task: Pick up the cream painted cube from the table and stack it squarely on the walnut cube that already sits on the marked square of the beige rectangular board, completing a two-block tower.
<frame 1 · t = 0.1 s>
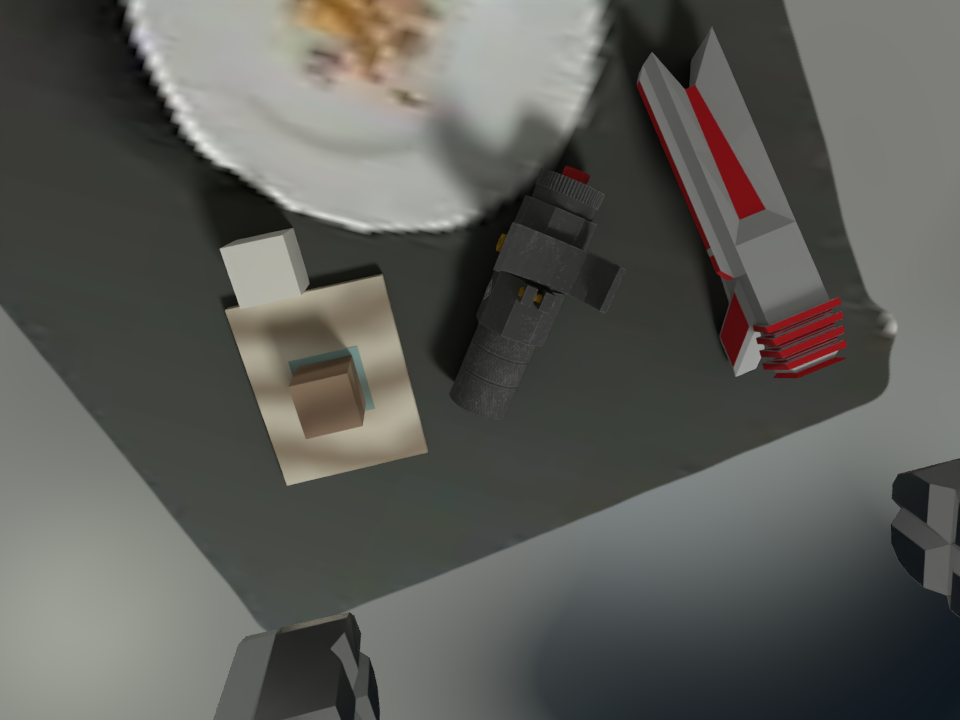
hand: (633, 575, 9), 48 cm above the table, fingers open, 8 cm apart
beige rectangular board: (333, 381, 57), on the table
toy gun: (700, 222, 57), on the table
cream block: (273, 262, 53), on the table
laser sight: (518, 285, 57), on the table
walnut block: (332, 385, 56), point 1 cm above the table, touching beige rectangular board
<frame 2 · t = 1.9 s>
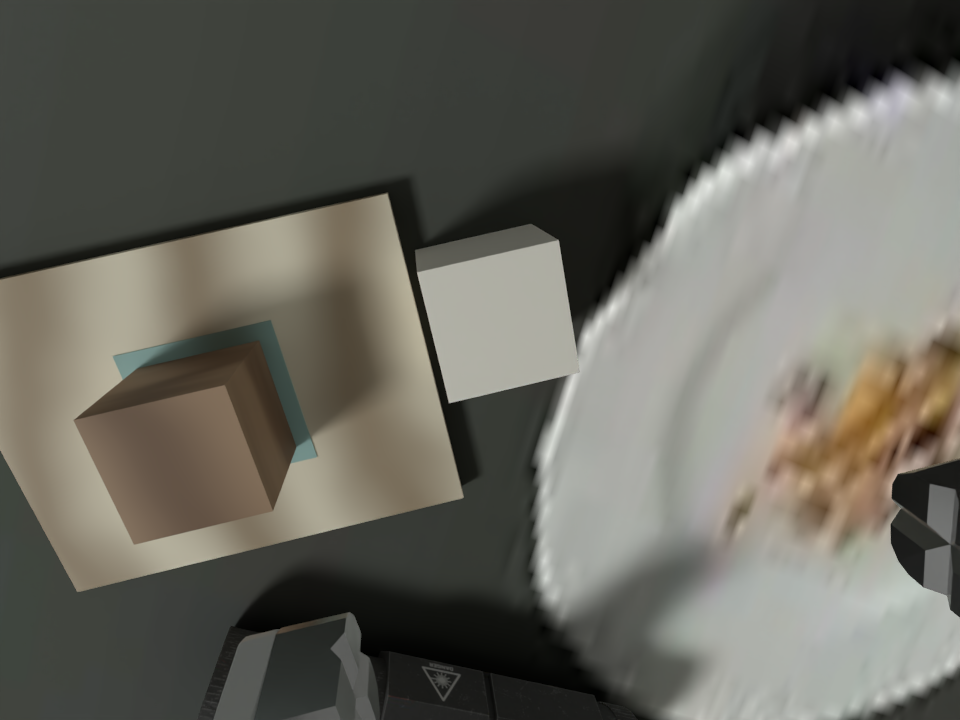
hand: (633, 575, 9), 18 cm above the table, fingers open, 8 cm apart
beige rectangular board: (226, 399, 26), on the table
cream block: (484, 293, 26), on the table
laser sight: (435, 679, 34), on the table
walnut block: (219, 409, 25), point 1 cm above the table, touching beige rectangular board
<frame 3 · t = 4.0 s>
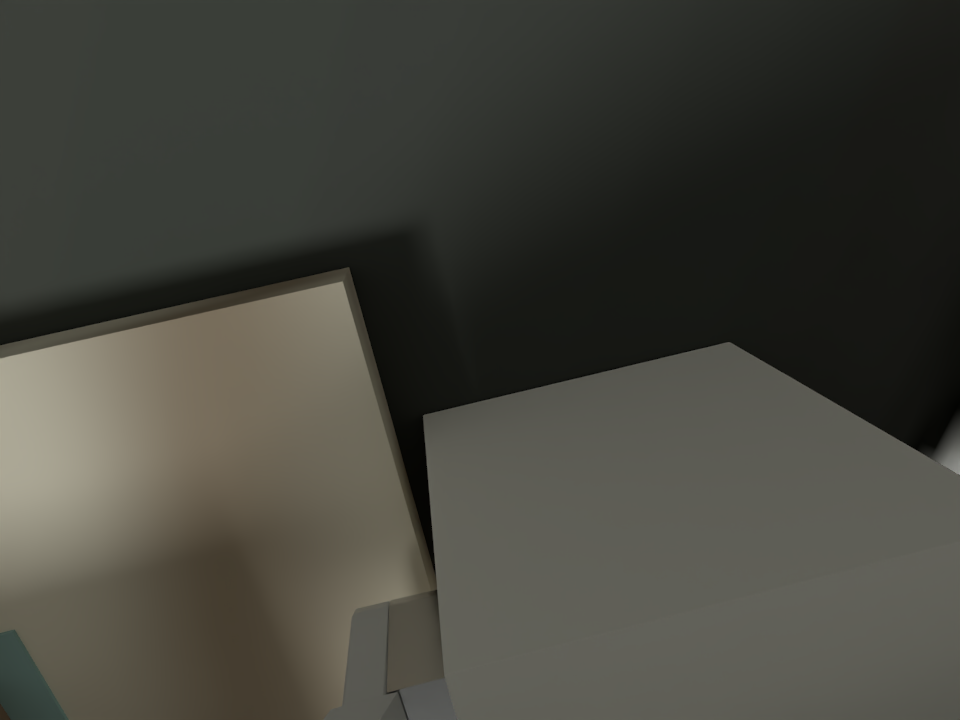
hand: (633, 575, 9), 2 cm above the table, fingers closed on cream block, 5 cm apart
cream block: (599, 510, 10), on the table, touching gripper
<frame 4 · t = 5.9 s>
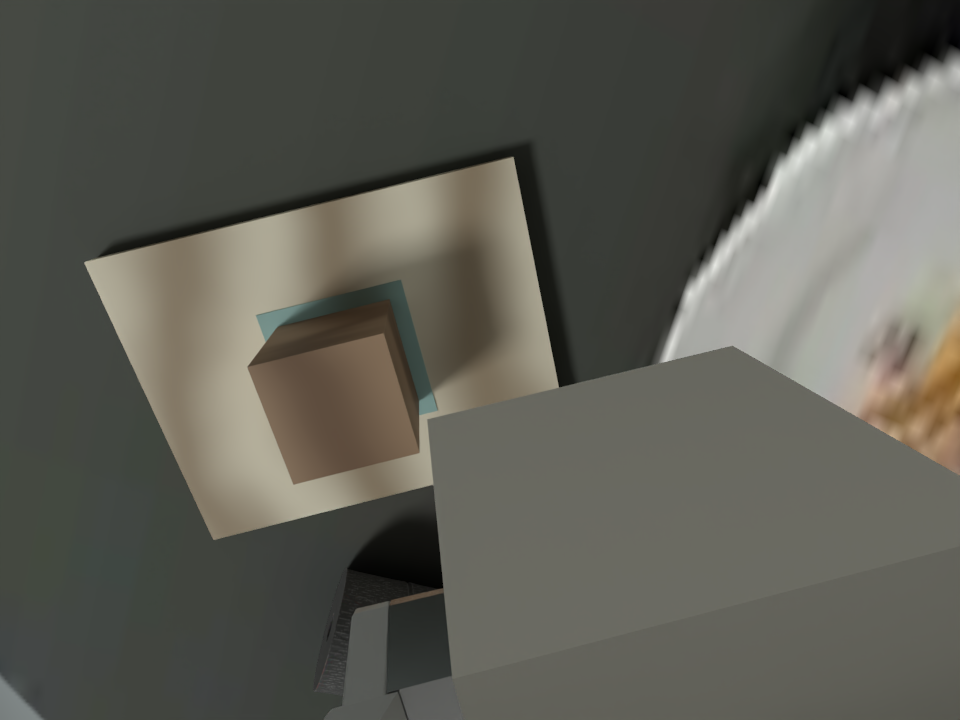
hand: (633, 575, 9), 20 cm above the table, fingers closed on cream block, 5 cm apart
beige rectangular board: (352, 357, 28), on the table
cream block: (602, 514, 10), point 18 cm above the table, touching gripper
laser sight: (530, 622, 35), on the table
walnut block: (350, 365, 27), point 1 cm above the table, touching beige rectangular board
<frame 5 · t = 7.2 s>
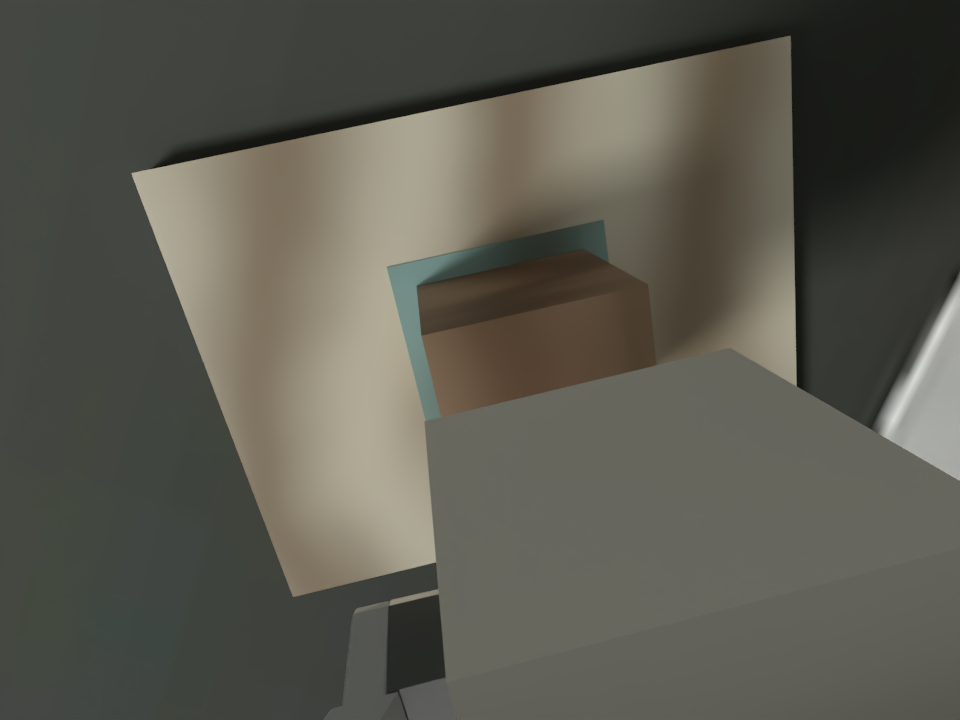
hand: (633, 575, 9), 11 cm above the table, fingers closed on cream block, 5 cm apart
beige rectangular board: (509, 336, 20), on the table
cream block: (600, 516, 10), point 10 cm above the table, touching gripper
walnut block: (515, 346, 19), point 1 cm above the table, touching beige rectangular board
when the fingers open (9 cm above the table, at t = 8.1 s): cream block stays where it is, resting on walnut block.
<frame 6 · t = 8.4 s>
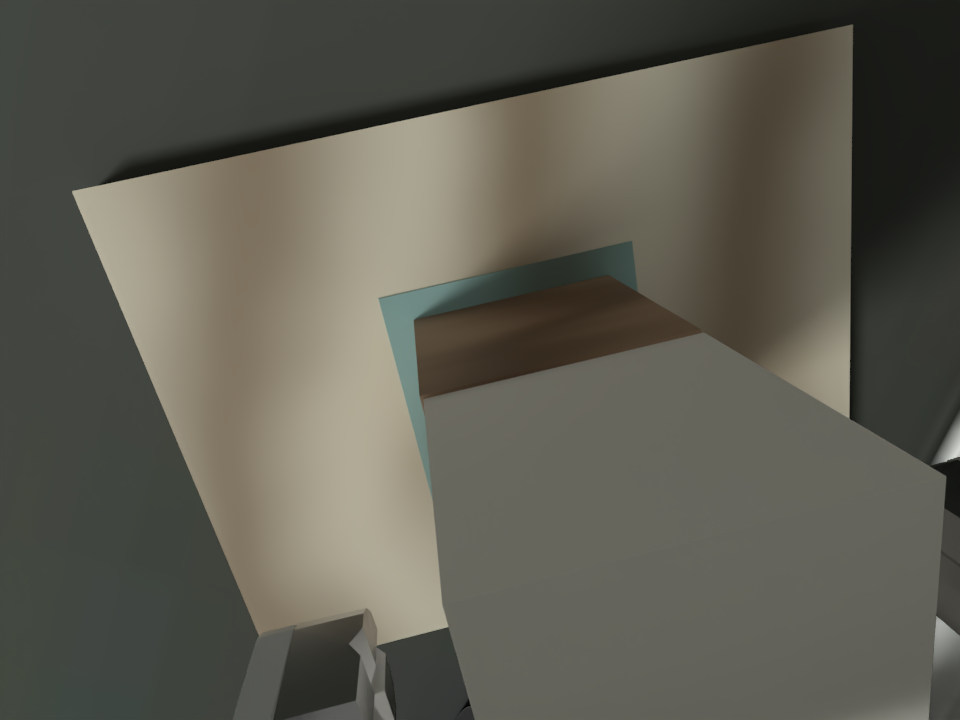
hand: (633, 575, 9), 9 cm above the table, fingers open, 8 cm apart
beige rectangular board: (521, 374, 17), on the table
cream block: (585, 488, 11), point 6 cm above the table, touching walnut block
walnut block: (528, 387, 16), point 1 cm above the table, touching beige rectangular board, cream block
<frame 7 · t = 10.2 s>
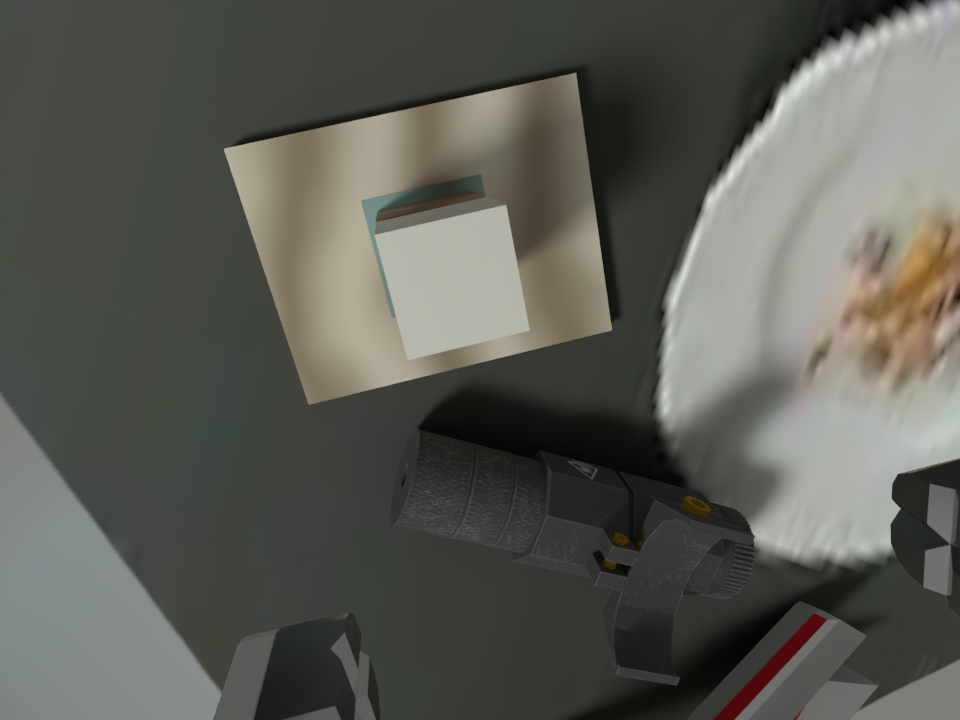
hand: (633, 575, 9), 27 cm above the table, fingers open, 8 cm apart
beige rectangular board: (434, 245, 34), on the table
toy gun: (640, 694, 47), on the table
cream block: (444, 263, 28), point 6 cm above the table, touching walnut block
laser sight: (566, 490, 40), on the table
walnut block: (435, 247, 33), point 1 cm above the table, touching beige rectangular board, cream block
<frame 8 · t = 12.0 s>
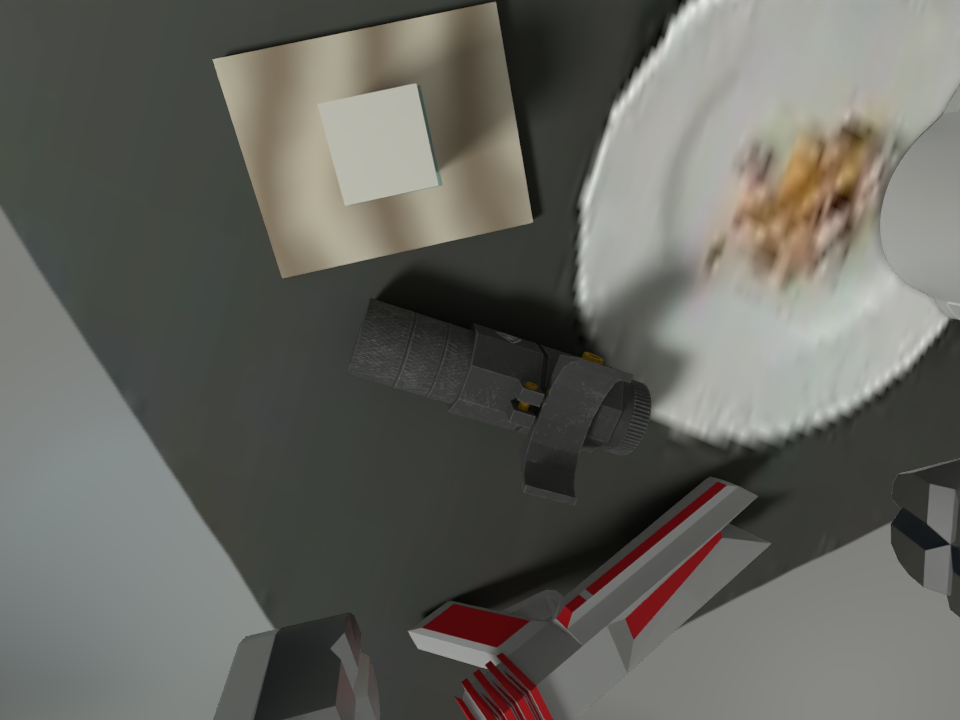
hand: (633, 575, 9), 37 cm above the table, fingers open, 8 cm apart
beige rectangular board: (384, 146, 41), on the table
toy gun: (572, 557, 55), on the table
cream block: (382, 146, 36), point 6 cm above the table, touching walnut block
laser sight: (500, 366, 48), on the table
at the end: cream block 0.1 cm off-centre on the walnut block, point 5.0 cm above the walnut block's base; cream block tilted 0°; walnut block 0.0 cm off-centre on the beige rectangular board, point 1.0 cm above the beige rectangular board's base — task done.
